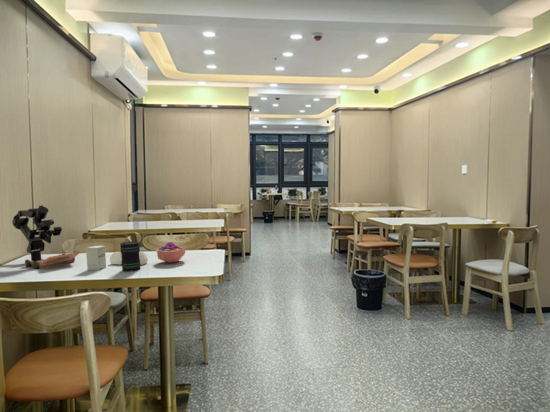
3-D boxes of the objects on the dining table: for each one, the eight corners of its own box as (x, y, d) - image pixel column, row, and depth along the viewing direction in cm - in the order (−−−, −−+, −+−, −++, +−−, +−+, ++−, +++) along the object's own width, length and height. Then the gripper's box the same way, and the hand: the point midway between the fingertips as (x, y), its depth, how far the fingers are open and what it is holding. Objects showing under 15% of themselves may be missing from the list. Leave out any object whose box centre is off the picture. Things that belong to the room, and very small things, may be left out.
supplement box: (98, 270, 232) (97, 247, 231) (87, 270, 233) (85, 247, 232) (106, 267, 239) (105, 245, 238) (95, 267, 240) (93, 245, 239)
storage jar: (140, 267, 236) (138, 240, 235) (141, 270, 226) (139, 243, 225) (121, 269, 232) (119, 242, 231) (121, 272, 223) (119, 245, 222)
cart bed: (24, 266, 252) (23, 259, 252) (62, 259, 270) (62, 252, 270) (37, 269, 241) (36, 261, 241) (76, 262, 259) (75, 255, 259)
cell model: (155, 266, 235) (154, 246, 234) (157, 260, 254) (156, 241, 253) (185, 264, 238) (184, 244, 237) (186, 257, 258) (185, 239, 257)
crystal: (151, 255, 249) (116, 255, 255) (145, 251, 242) (110, 251, 248) (149, 267, 246) (113, 267, 252) (142, 264, 239) (106, 263, 245)
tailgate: (41, 262, 243) (48, 257, 236) (71, 257, 256) (78, 252, 250) (42, 266, 243) (49, 260, 236) (71, 260, 256) (79, 255, 250)
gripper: (27, 216, 248) (37, 236, 242) (59, 213, 263) (69, 232, 257) (23, 229, 254) (32, 248, 248) (54, 225, 268) (64, 243, 262)
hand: (50, 242), depth 254 cm, fingers closed
